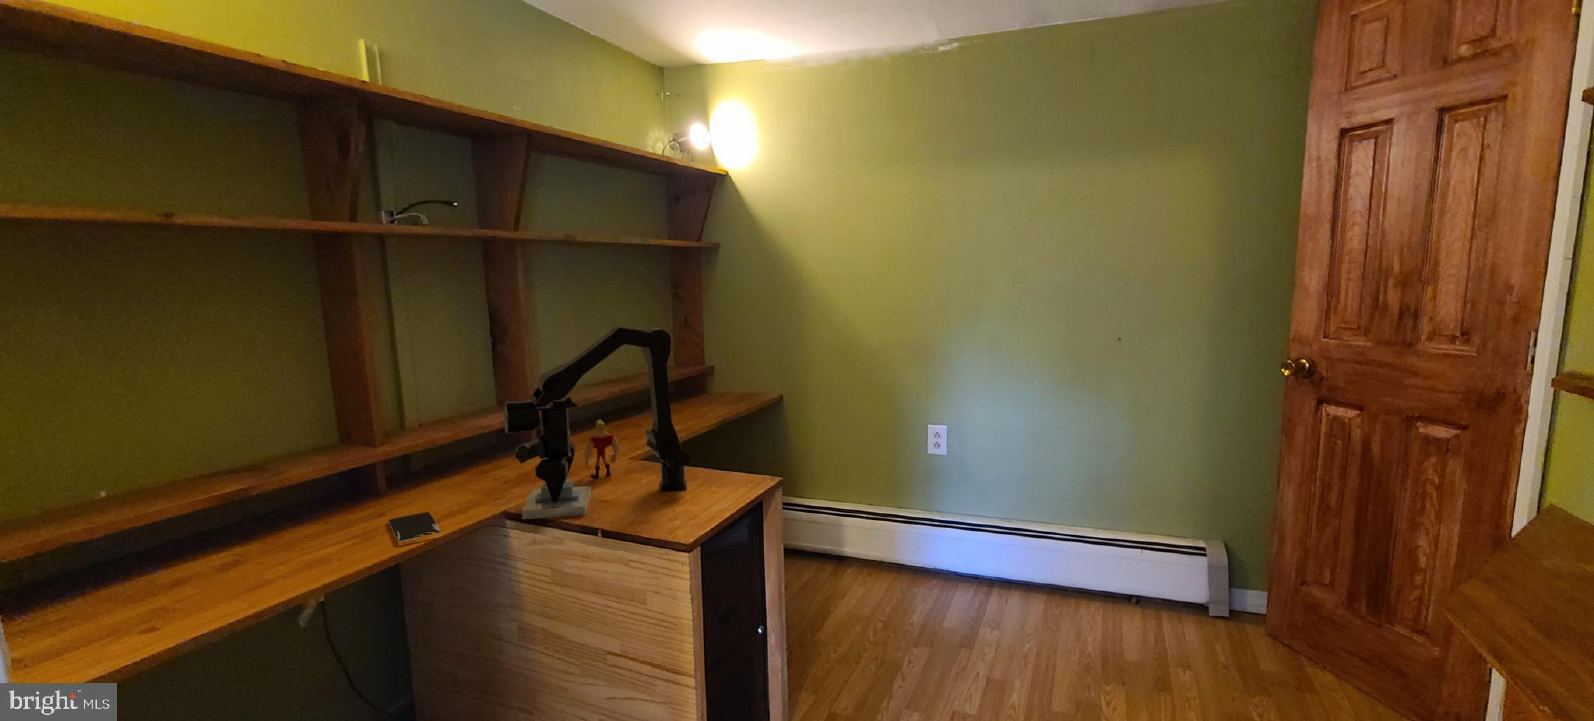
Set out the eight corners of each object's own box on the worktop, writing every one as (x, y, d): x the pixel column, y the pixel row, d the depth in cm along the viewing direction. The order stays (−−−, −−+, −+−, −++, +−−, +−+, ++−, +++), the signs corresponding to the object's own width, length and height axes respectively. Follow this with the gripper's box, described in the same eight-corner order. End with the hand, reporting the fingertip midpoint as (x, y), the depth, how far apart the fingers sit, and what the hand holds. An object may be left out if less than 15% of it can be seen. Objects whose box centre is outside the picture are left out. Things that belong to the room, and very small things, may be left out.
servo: (541, 499, 157) (540, 478, 157) (582, 496, 159) (581, 476, 159) (535, 510, 150) (534, 489, 149) (578, 507, 152) (577, 486, 151)
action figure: (615, 470, 179) (614, 415, 177) (621, 474, 176) (620, 418, 174) (581, 477, 173) (579, 420, 171) (586, 481, 170) (584, 423, 168)
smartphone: (428, 511, 147) (442, 532, 135) (429, 517, 147) (442, 539, 135) (388, 519, 142) (398, 542, 130) (388, 525, 142) (399, 548, 130)
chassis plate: (533, 497, 158) (533, 489, 158) (590, 494, 161) (590, 486, 161) (522, 519, 145) (521, 510, 144) (585, 515, 147) (584, 506, 147)
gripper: (524, 420, 158) (527, 484, 160) (508, 440, 140) (511, 512, 142) (574, 418, 160) (576, 481, 162) (564, 437, 142) (567, 508, 144)
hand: (558, 494), depth 152 cm, fingers open, 9 cm apart
